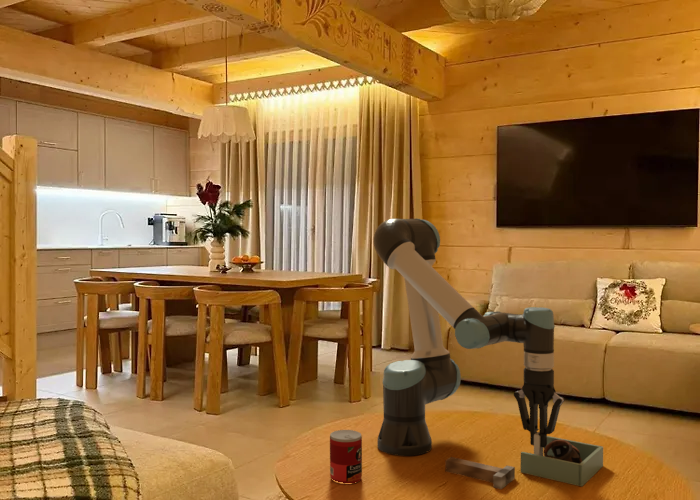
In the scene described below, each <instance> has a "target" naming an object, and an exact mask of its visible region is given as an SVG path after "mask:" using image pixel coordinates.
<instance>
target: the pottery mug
mask: <svg viewBox="0 0 700 500" xmlns="http://www.w3.org/2000/svg"><path fill="white" fill-rule="evenodd" d="M556 438H557V437H556ZM556 438H555V439H553V440H552V441H551V442H550V443H549V444H548V445H547V446H546V447H545V449H544V448H543V456H545V457H550V458H555V459H559V460H564V461H569V462H574V463H578V464H580V463H581V462H582V459H581V457H580V453H579V450H578V449H577V448H576V447H574V446H573V445H571V444H570V443H569V442H568V441H566V440H567V439H566V440H561V439H562V438H561V439H560V440H558V439H556ZM564 446H566V448H564ZM550 449H551V450H552V452H553V453H554V457H553V456H548V455H547V453H548V451H549V450H550Z"/></svg>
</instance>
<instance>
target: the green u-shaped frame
mask: <svg viewBox="0 0 700 500" xmlns="http://www.w3.org/2000/svg"><path fill="white" fill-rule="evenodd" d="M555 438H556V439H558V440H560V439H561V440H566V441H568V442H569V443H570V444H571V445H573V446H574V447H576V448H577V449H578V450H579V453H580V457H581V459H582V462H581V463H580V464H578V463H574V462H569V461H564V460H559V459H555V457H554V453H553V452H552V450H551V449H550V450H549V451H548V453H547V455H548V456H550V457H553V458H550V457H545V456H544V455H543V456H540V455H536V454H534V453H530V452H526V451H521V452H520V473H523V474H527V475H532V476H534V477H538V478H543V479H549V480H552V481H553V480H554V481H557V482H560V483H566V484H569V485H570V484H571V485H575V486H578V487H583V486H584V485H586V483H588V481H590V480H591V479H592V478H593V477H594V475H595V474H597V472H598V471H599V470H601V469H602V468H603V467H604V446H602V445H597V444H591V443H587V442H586V443H585V442H581V441H576V440H570V439H565V438H561V437H560V438H559V437H555V436H550V435H547V445H548V444H549V443H550V442H551V441H552V440H553V439H555ZM547 445H546V446H547ZM564 448H566V446H564ZM544 449H545V447H544V448H543V450H544Z"/></svg>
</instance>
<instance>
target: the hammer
mask: <svg viewBox="0 0 700 500" xmlns="http://www.w3.org/2000/svg"><path fill="white" fill-rule="evenodd" d="M444 465H445V472H446V473H450V474H456V475H459V476H463V477H468V478H471V479H476V480H480V481H484V482H488V483H491V484H492V485H493V488H495V489H498V490H503V488H505V487H506V486H508V485H509V484H510V483H511V482H512V481H514V480H516V479H515V478H516V476H515V475H516V474H515V473H516V470H515V469H516V467H514V466H512V465H506V466H504V467H503V468H502V467H498V466H492V465H488V464H484V463H481V462H480V463H479V462H476V461H471V460H467V459H462V458H458V457H454V456H450V457H449V458H447V459H445V463H444Z"/></svg>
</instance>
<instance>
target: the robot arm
mask: <svg viewBox="0 0 700 500" xmlns="http://www.w3.org/2000/svg"><path fill="white" fill-rule="evenodd" d="M440 246H441V236H440V233H439V231H438V229H437V228H436V226H435V225H434V223H432V222H430V221H428V220H427V219H421V218H391V219H390V218H389V219H387V220H385V221H383V222H381V223H380V224H379V225H378V227H377V228H376V229H375V231H374V234H373V247H374V250H375V252H376V254H377V255H378V257H379V259H380V260H381V261H382V262H383V264H385V265H386V266H387V267H388V268H389V269H390V270H396V271H397V272H398V273H399V274H400V275H401V276H402V277H403V278H404V279H403V280H404V284H405V285H404V287H405V292H406V299H407V306H408V313H409V314H408V315H409V320H410V325H411V326H410V328H411V334H412V340H413V346H414V351H413V353H412V355H411V356H410V359H405V360H398V361H394V362H391V363H389V364H387V365H386V367H385V368H384V369H383V376H382V377H383V378H382V389H383V391H382V392H383V393H382V394H383V395H382V397H383V399H382V400H383V403H382V404H383V405H382V406H383V408H382V409H383V420H382V423H381V427H380V430H379V432H378V435H377V436H378V437H377V442H376V443H377V449H378V450H379V451H381V452H382V453H385V454H389V455H393V456H403V457H404V456H406V457H410V456H418V455H423V454H426V453H428V452H430V451H431V450H432V445H433V444H432V437H431V434H430V430H429V428H428V424H427V421H426V405H428V404H431V403H434V402H437V401H442V400H445V399H447V398H449V397H451V396H452V395H454V394H455V393H456V392H457V391H458V389H459V387H460V385H461V379H462V376H461V369H460V366H459V365H458V364H457V363H456V361H454V359H451V352H450V350H448V349H446V348H445V347H444V343H443V342H444V340H443V333H442V328H441V322H440V321H441V320H440V316H441V317H442V318H443V319H445V321H446V322H447V323H448V324H449V325H450V326H451V327H452V328H453V329H454V337H455V339H456V342H457V343H458V344H459V345H460V347H462V348H464V349H467V350H471V349H472V350H474V349H481V348H483V347H486V346H491V345H495V344H500V343H503V342H510V343H517V344H523V345H522V346H523V366H524V368H523V384H522V388H521V389H520V390H517V391H515V392H513V396H514V399H515V401H516V402H517V406H518V410H519V414H520V415H519V416H520V419H521V424H522V428H523V430H524V431H528V432H529V433H530V440H529V441H530V445H531V446H533V454H536V455H540V456H544V447H546V445H547V436H548V435H551V434H552V433H554V432H555V428H556V425H557V421H558V418H559V413H560V409H561V406H562V404H563V403H564V402H565V398H564V396H560V395H558V394H557V392H556V388H555V386H554V385H555V370H554V369H553V368H555V352H554V351H555V348H554V343H555V327H556V325H555V318H554V312H553V310H552V309H551V308H548V307H543V306H542V307H540V306H539V307H536V306H535V307H534V306H532V307H525V308H524V309H523V313H522V314H519V313H512V312H511V313H509V312H501V311H498V310H497V311H487V312H485V313H484V315H483V314H481V313H480V312H479V311H478V310H477V309H476V308H475V307H474V306H473V305H472V304H471V303H470V302H469V301H468V300H466V298H464V297H463V295H461V293H459V292H458V291H457V290H456V289H455V288H454V287H453V285H451V284H450V283H449V282H448V281H447V280H446V279H445V278H444V277H443V276H442V275H441V274H440V273H439V272H438V271H437V270H436V269H435V268H434V267H433V266H434V264H435V263H436V260H437V259H436V253H437V252H438V251H439V248H440ZM526 399H527V400H528V405H529V410H528V406H527V401H526ZM551 400H552V402H553V404H552V408H551V410H550V411H551V412H550V416H549V420H548V407H549V402H550V401H551ZM538 409H539V410H538ZM538 411H539V412H538ZM538 417H539V418H538ZM538 426H539V427H538Z"/></svg>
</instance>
